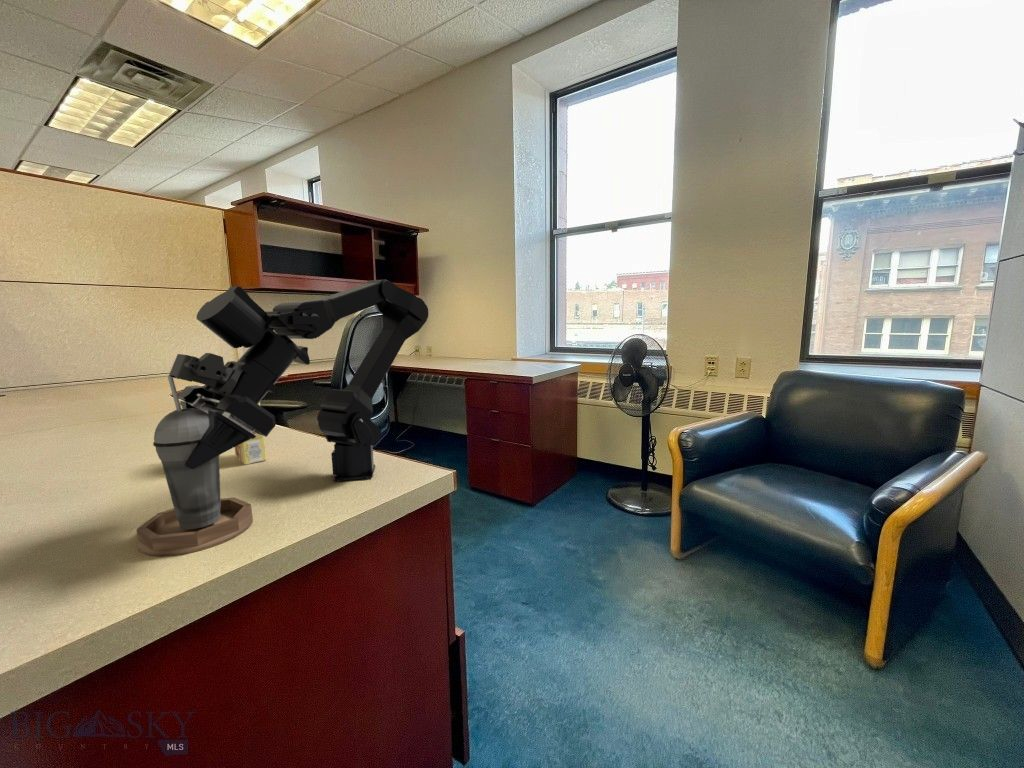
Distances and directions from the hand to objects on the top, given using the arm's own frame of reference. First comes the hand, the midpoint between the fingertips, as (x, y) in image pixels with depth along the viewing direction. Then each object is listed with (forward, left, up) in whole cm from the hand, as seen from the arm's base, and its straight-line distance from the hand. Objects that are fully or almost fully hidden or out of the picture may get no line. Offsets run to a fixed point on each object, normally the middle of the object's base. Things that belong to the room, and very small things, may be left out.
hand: (179, 462), depth 57 cm
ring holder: (-1, -1, -10) cm, 10 cm away
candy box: (+4, -35, -10) cm, 37 cm away
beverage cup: (-1, -1, -9) cm, 9 cm away
